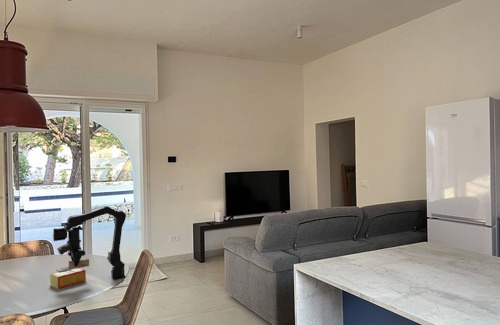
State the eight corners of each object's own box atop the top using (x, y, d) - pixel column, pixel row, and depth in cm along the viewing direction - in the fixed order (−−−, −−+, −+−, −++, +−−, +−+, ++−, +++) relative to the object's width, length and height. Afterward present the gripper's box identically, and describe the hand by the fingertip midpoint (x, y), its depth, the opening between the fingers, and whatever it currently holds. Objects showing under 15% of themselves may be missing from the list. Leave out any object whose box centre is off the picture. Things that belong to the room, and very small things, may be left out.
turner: (86, 264, 215) (86, 257, 215) (90, 266, 210) (89, 259, 210) (56, 270, 204) (56, 263, 204) (59, 272, 200) (58, 265, 200)
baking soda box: (50, 274, 210) (78, 266, 222) (50, 285, 210) (78, 277, 222) (57, 277, 204) (85, 269, 216) (58, 288, 204) (86, 280, 216)
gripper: (54, 238, 209) (55, 265, 210) (62, 243, 195) (63, 273, 195) (75, 235, 217) (76, 261, 217) (84, 240, 202) (86, 268, 203)
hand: (75, 266), depth 208 cm, fingers closed on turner, 3 cm apart
